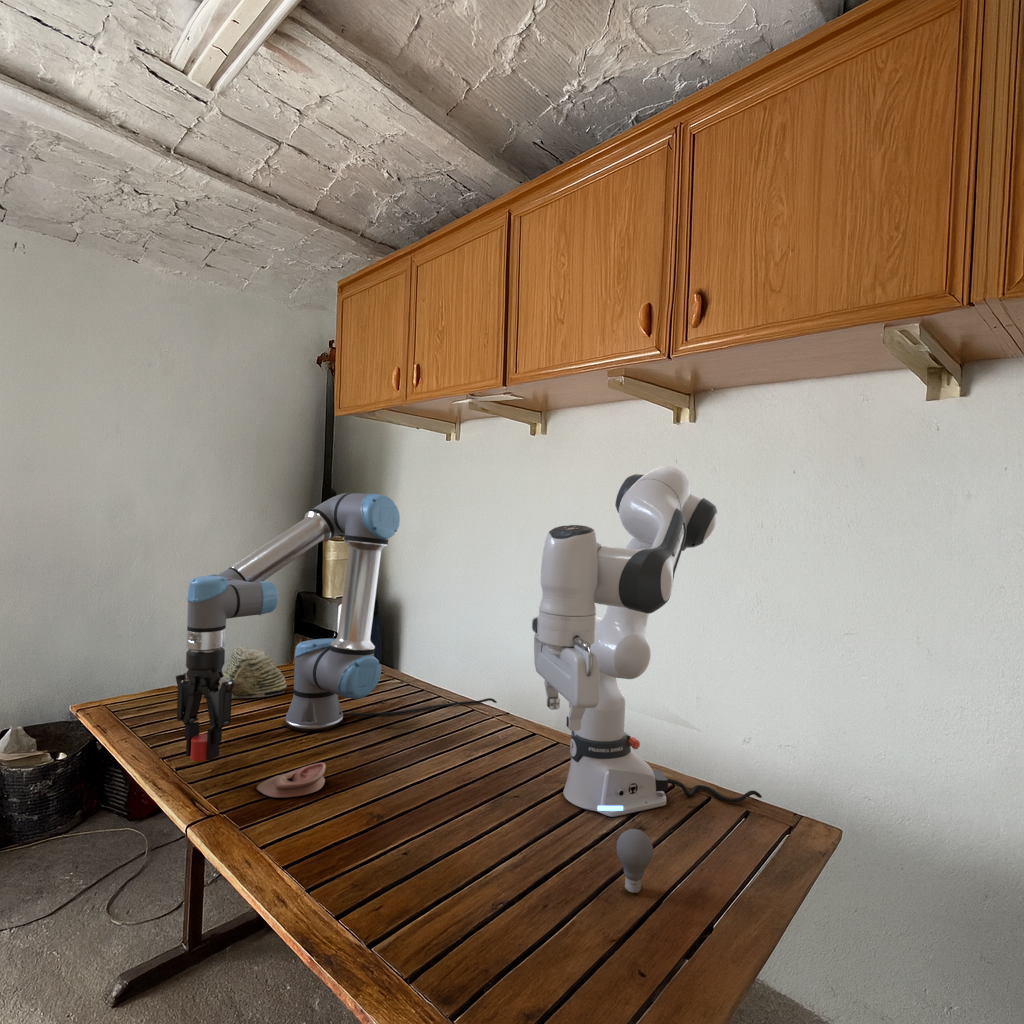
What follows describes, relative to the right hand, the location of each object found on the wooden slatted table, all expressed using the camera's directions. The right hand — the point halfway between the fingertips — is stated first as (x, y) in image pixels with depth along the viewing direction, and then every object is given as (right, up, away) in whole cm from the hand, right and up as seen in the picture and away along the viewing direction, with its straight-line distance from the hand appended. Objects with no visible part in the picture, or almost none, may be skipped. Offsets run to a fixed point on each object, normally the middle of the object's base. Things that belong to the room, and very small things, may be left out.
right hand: (562, 718), depth 99 cm
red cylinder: (-75, -21, +38) cm, 87 cm away
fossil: (-89, -25, +99) cm, 135 cm away
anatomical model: (-56, -28, +39) cm, 73 cm away
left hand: (-75, -21, +38) cm, 87 cm away
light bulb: (+12, -31, +7) cm, 34 cm away
